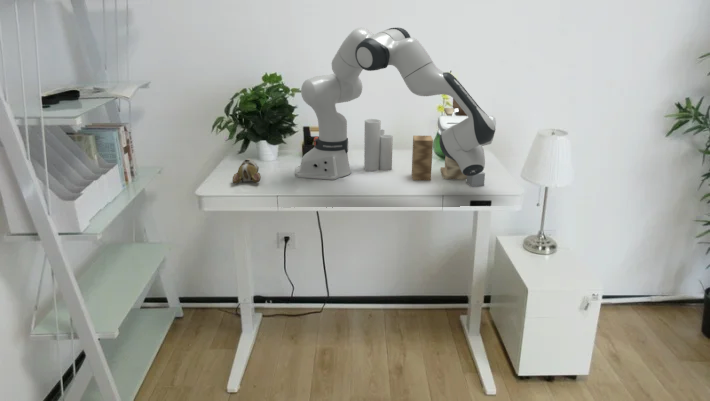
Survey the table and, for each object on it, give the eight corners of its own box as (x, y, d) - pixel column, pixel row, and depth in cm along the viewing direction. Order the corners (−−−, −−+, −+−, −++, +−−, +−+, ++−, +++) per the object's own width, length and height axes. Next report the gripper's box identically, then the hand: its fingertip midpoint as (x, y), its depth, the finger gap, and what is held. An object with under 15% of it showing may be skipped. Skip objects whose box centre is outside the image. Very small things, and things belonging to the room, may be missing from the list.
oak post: (412, 180, 214) (414, 140, 208) (411, 174, 221) (413, 135, 215) (430, 180, 214) (433, 140, 208) (429, 174, 221) (431, 135, 215)
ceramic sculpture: (262, 153, 218) (258, 167, 204) (264, 173, 221) (260, 188, 208) (235, 153, 217) (229, 168, 204) (237, 174, 221) (231, 189, 207)
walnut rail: (459, 118, 198) (460, 107, 197) (452, 106, 217) (453, 96, 215) (471, 118, 198) (472, 107, 197) (462, 106, 217) (463, 96, 215)
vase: (365, 171, 224) (365, 123, 217) (363, 165, 231) (363, 119, 223) (392, 170, 225) (394, 122, 218) (389, 164, 232) (390, 118, 225)
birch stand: (443, 179, 215) (447, 113, 206) (440, 171, 225) (444, 107, 215) (471, 179, 215) (477, 113, 205) (467, 171, 224) (472, 108, 215)
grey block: (471, 186, 208) (472, 174, 206) (466, 182, 212) (467, 170, 210) (483, 185, 209) (485, 173, 207) (478, 181, 213) (479, 169, 211)
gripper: (437, 143, 194) (435, 116, 203) (495, 143, 194) (490, 116, 202) (439, 130, 189) (436, 103, 198) (499, 130, 189) (493, 103, 197)
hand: (464, 110), depth 200 cm, fingers open, 5 cm apart
